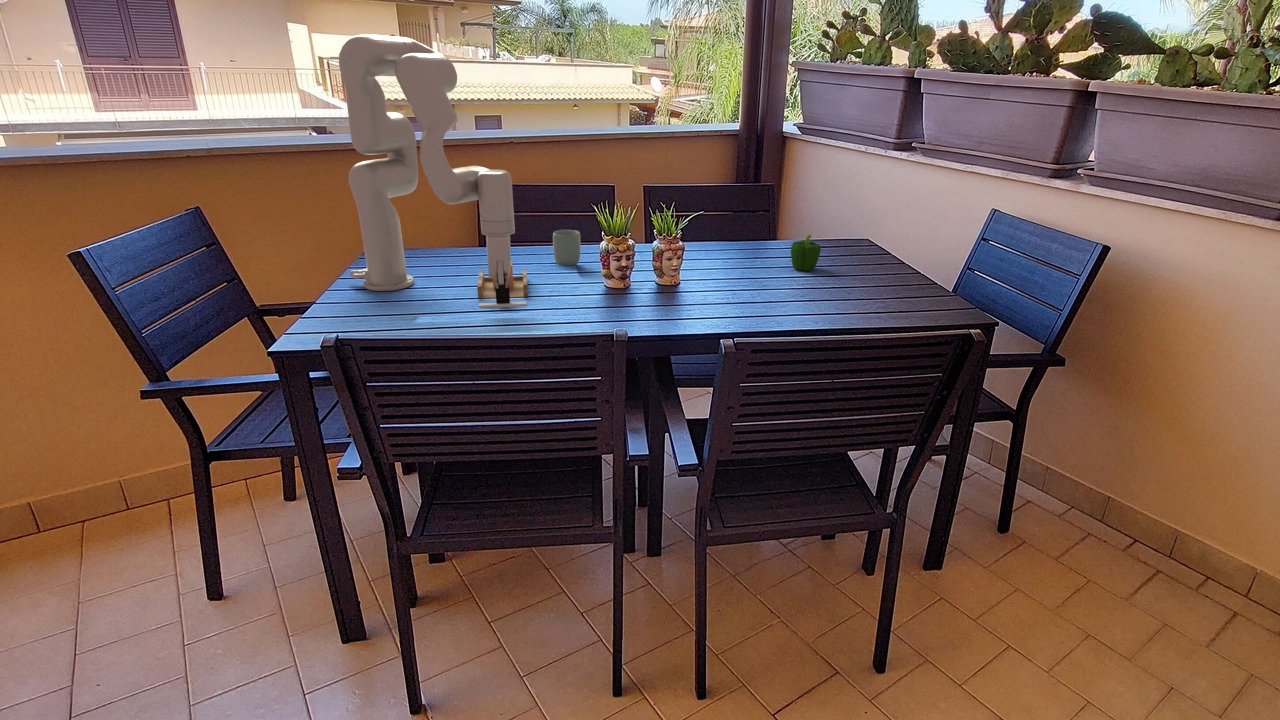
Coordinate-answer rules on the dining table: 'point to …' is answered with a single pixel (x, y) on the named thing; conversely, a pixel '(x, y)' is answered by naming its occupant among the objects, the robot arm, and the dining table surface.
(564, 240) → the cup
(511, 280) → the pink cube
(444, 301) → the dining table surface
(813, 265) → the bell pepper
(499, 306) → the panel
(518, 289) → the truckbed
